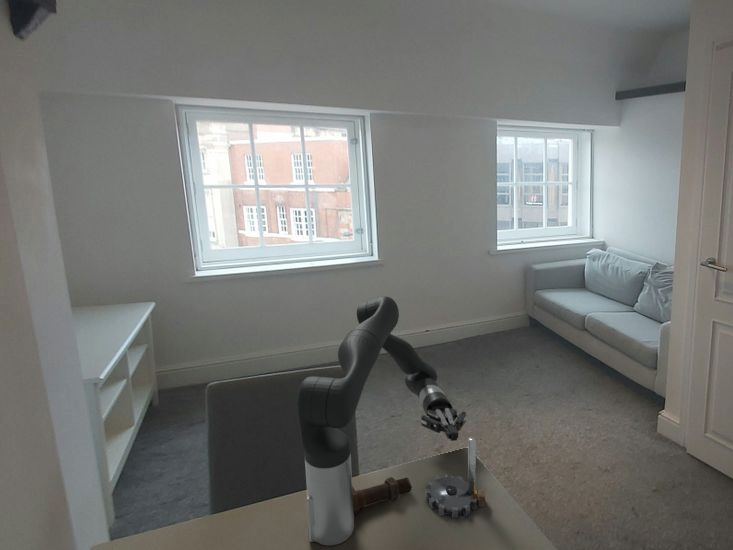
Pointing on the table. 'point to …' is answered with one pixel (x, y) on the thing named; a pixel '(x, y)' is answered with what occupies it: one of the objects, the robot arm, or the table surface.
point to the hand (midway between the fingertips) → (454, 437)
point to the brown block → (482, 498)
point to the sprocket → (455, 489)
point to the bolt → (380, 492)
